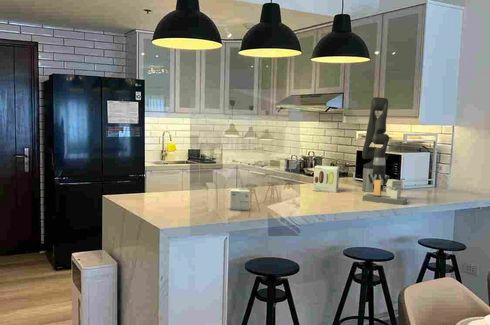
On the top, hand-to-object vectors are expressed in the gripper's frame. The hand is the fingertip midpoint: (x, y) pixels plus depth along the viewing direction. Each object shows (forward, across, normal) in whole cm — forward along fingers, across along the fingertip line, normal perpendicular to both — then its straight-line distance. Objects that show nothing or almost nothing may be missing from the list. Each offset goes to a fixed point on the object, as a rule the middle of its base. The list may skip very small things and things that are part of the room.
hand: (377, 190), depth 318 cm
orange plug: (+3, 0, 0) cm, 3 cm away
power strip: (+7, -5, 0) cm, 9 cm away
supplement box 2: (+7, -6, -19) cm, 21 cm away
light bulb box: (+8, +56, +84) cm, 101 cm away
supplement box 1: (+7, +43, -19) cm, 48 cm away
